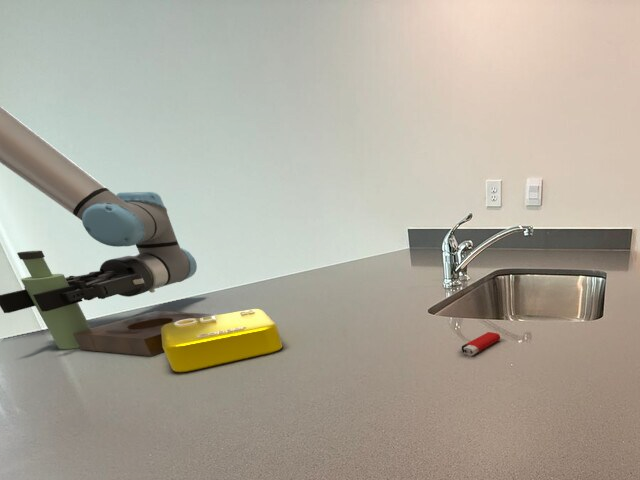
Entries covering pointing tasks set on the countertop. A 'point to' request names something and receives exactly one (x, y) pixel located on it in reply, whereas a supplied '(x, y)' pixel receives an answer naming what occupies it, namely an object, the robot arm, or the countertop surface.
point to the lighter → (480, 343)
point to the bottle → (56, 320)
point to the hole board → (132, 333)
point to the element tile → (219, 339)
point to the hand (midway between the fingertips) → (21, 303)
